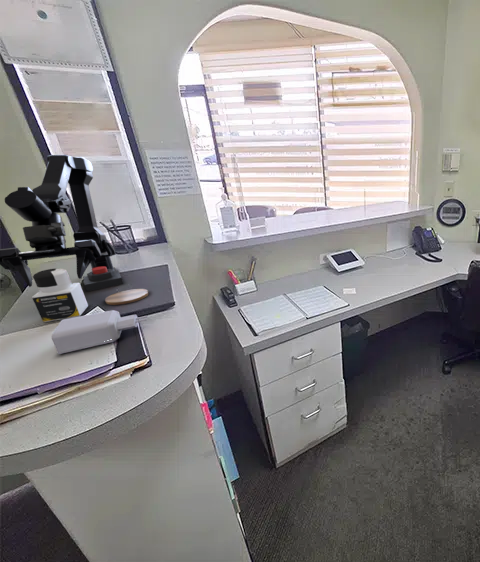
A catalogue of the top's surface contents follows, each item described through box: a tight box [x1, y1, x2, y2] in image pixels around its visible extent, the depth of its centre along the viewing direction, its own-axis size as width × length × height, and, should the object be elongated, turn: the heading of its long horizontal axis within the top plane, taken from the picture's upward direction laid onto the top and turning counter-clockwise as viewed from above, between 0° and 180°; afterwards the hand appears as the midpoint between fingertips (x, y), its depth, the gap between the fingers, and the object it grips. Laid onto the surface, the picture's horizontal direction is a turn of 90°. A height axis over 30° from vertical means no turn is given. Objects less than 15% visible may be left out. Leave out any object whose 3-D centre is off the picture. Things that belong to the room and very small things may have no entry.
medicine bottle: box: [31, 267, 89, 323], centre depth 78 cm, size 7×7×12 cm
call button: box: [91, 266, 108, 274], centre depth 99 cm, size 4×4×2 cm
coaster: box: [104, 288, 150, 306], centre depth 90 cm, size 10×10×1 cm
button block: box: [82, 269, 124, 292], centre depth 100 cm, size 10×9×4 cm
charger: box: [51, 309, 148, 355], centre depth 69 cm, size 5×9×15 cm
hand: (55, 281), depth 78 cm, fingers open, 9 cm apart
